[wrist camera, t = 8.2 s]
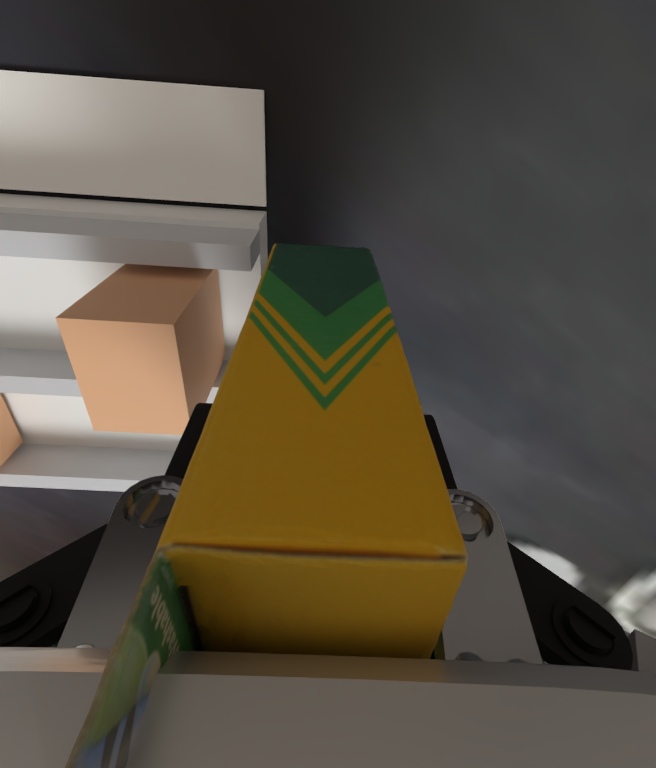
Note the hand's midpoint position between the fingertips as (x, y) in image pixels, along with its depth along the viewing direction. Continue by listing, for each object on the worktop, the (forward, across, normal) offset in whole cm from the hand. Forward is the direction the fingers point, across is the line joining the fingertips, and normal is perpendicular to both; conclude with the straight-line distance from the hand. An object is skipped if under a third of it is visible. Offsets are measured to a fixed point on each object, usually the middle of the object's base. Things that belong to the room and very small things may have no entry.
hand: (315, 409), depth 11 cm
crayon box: (+3, 0, 0) cm, 3 cm away
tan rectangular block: (+6, +5, 0) cm, 8 cm away
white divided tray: (+8, +10, +1) cm, 13 cm away
